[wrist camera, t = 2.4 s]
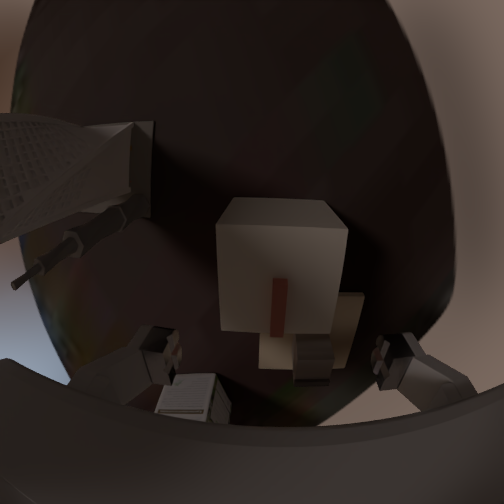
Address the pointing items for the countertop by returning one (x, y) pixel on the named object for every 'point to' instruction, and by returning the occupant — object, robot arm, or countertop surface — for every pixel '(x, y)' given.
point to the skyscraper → (71, 180)
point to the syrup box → (196, 399)
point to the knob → (279, 265)
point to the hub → (315, 346)
